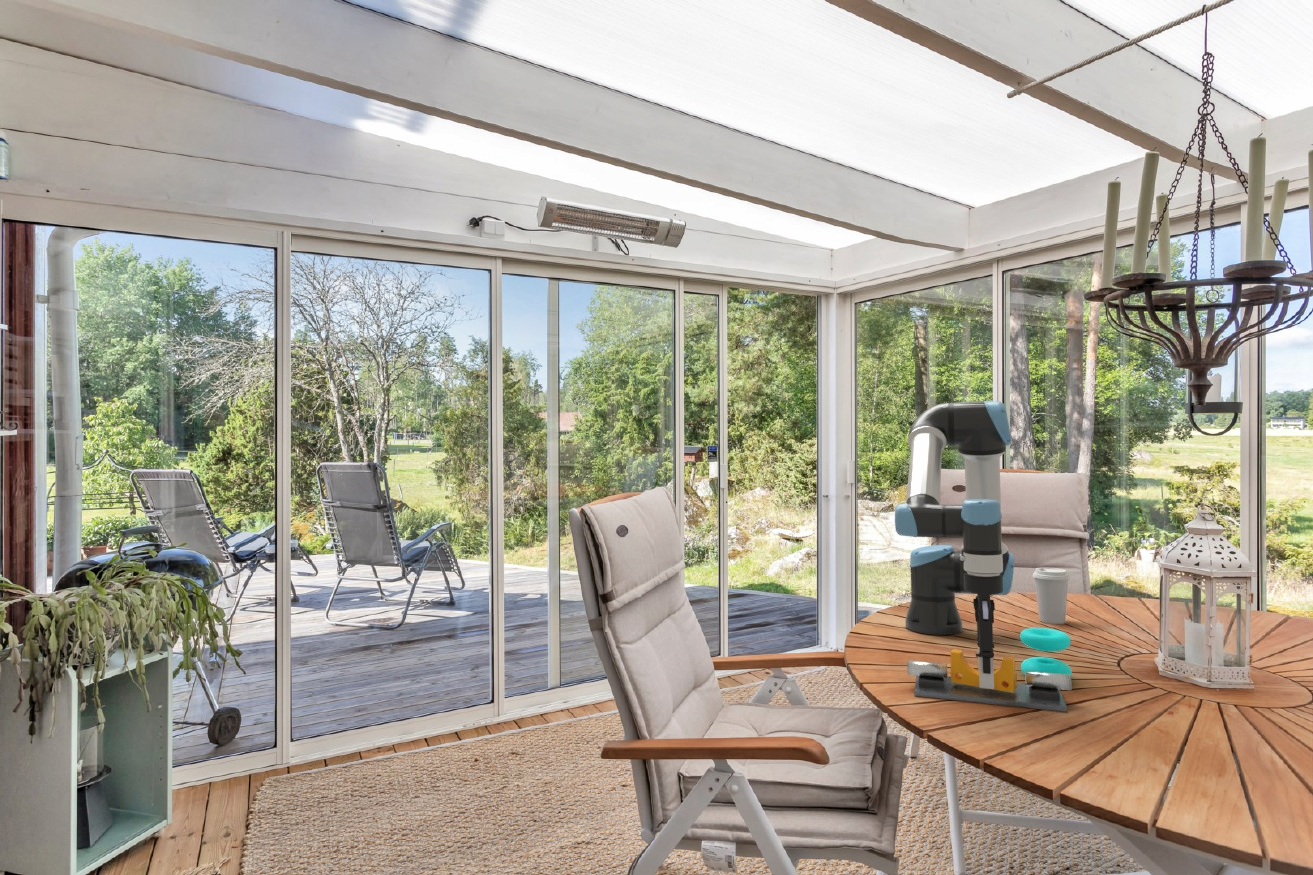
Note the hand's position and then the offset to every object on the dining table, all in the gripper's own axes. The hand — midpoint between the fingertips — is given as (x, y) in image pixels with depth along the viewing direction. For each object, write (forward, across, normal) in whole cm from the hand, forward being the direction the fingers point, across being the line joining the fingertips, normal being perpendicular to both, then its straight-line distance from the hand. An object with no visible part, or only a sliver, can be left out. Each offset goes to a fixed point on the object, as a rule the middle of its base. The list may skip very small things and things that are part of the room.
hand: (986, 683), depth 148 cm
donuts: (+2, -16, +13) cm, 21 cm away
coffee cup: (+3, -70, +21) cm, 73 cm away
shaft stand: (+2, 0, 0) cm, 2 cm away
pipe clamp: (+1, 0, 0) cm, 1 cm away
